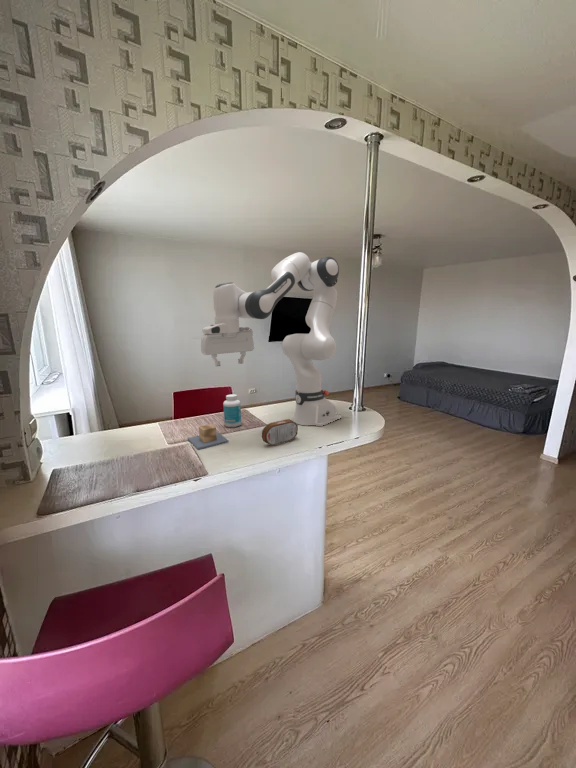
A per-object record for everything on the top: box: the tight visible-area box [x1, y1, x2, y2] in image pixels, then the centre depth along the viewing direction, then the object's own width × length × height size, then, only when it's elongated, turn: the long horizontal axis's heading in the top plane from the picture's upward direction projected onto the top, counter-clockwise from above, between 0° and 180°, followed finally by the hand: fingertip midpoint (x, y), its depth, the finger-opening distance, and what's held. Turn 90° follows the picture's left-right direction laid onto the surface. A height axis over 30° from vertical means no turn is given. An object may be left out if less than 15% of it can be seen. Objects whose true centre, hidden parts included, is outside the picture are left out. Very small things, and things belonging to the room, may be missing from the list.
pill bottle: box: [222, 393, 243, 428], centre depth 145 cm, size 8×7×14 cm
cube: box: [198, 423, 217, 443], centre depth 127 cm, size 5×5×5 cm
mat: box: [187, 431, 230, 451], centre depth 128 cm, size 12×12×1 cm
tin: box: [261, 418, 299, 446], centre depth 124 cm, size 15×3×8 cm, turn 124°
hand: (229, 364), depth 125 cm, fingers open, 8 cm apart
